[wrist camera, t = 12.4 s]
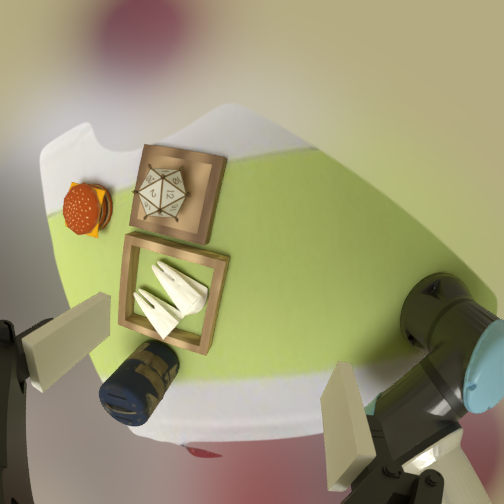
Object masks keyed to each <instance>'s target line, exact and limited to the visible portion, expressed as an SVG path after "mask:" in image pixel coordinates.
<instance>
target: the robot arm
mask: <svg viewBox="0 0 504 504" xmlns="http://www.w3.org/2000/svg"><path fill="white" fill-rule="evenodd" d="M110 302H111V296H110V295H107V294H105V293H102V292H99V293H98V294H96V295H94V296H92V297H91V298H89V299H87V300H85V301H84V302H82V303H80V304H78V305H77V306H75V307H73V308H72V309H70V310H68V311H67V312H65V313H63V314H61V315H60V316H58V317H57V318H55V319H54V318H49V319H45V320H43V321H41V322H39V323H38V324H37V325H34V326H32V328H29V329H27V330H26V331H24V332H22V333H21V334H19V335H17V336H15V331H14V325H13V324H12V323H11V322H10V321H7V320H0V504H34V501H33V496H32V491H31V485H30V478H29V469H28V458H27V445H26V386H27V385H26V379H27V378H28V377H30V379H31V383H32V386H34V387H35V388H37V389H38V390H39V391H41V392H42V393H43V392H44V391H45V390H46V389H48V388H49V387H50V386H51V385H52V384H53V383H55V382H56V381H57V380H58V379H59V378H60V377H62V376H63V375H64V374H65V373H66V372H67V371H68V370H70V369H71V368H72V367H73V366H74V365H75V364H77V363H78V362H79V361H80V360H81V359H82V358H84V357H85V356H86V355H87V354H88V353H90V352H91V351H92V350H93V349H94V348H95V347H97V346H98V345H99V344H100V343H101V342H103V341H104V340H105V339H106V338H107V337H109V336H110ZM400 324H401V330H402V333H403V335H404V337H405V339H406V340H407V341H408V343H409V344H410V345H411V346H412V347H413V348H414V349H416V350H418V351H420V352H422V353H424V354H427V356H426V357H425V358H424V359H423V360H422V361H420V362H419V363H418V364H417V365H416V366H415V367H414V368H412V369H411V370H410V371H409V372H408V373H407V374H405V375H404V376H403V377H402V378H400V379H399V380H398V381H397V382H396V383H394V384H393V385H392V386H390V387H389V388H388V389H387V390H385V391H384V392H382V393H380V394H378V395H377V397H376V398H375V399H374V400H373V401H372V402H371V403H369V404H368V405H367V406H365V407H363V403H362V400H361V396H360V393H359V389H358V386H357V383H356V379H355V376H354V373H353V370H352V366H351V363H345V362H340V361H338V362H337V364H336V366H335V368H334V371H333V373H332V375H331V377H330V379H329V381H328V384H327V386H326V388H325V390H324V392H323V394H322V396H321V398H320V400H321V409H322V419H323V430H324V440H325V454H326V466H327V482H328V491H345V490H346V489H347V488H348V487H349V486H350V485H351V489H352V492H351V493H350V494H349V495H348V496H347V497H346V498H345V499H344V500H343V501H342V502H341V504H492V503H491V501H490V499H489V497H488V495H487V493H486V492H485V490H484V488H483V486H482V484H481V482H480V480H479V479H478V477H477V475H476V473H475V471H474V469H473V468H472V466H471V464H470V462H469V461H468V459H467V457H466V455H465V454H464V452H463V451H462V449H461V447H460V441H461V438H462V434H463V429H462V427H461V426H460V424H459V422H458V420H459V419H460V418H462V417H463V416H464V415H465V414H466V413H467V412H468V411H469V412H473V413H476V414H478V413H483V412H485V411H486V410H487V409H491V408H492V407H494V406H495V405H496V404H497V403H498V402H499V401H500V400H501V399H502V398H503V397H504V320H502V319H500V318H498V317H497V316H495V315H494V314H492V313H491V312H490V311H488V310H487V309H485V308H484V307H482V306H481V305H479V304H478V303H476V302H475V301H474V299H473V297H472V295H471V294H470V292H469V290H468V288H467V286H466V285H465V284H464V283H463V282H462V281H461V280H460V279H458V278H456V277H455V276H453V275H451V274H447V273H437V274H434V275H431V276H429V277H427V278H425V279H423V280H422V281H421V282H419V283H418V284H417V285H416V286H415V287H414V288H413V290H412V291H411V292H410V294H409V295H408V297H407V299H406V301H405V303H404V305H403V308H402V312H401V318H400Z"/></svg>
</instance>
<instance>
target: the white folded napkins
mask: <svg viewBox="0 0 504 504" xmlns="http://www.w3.org/2000/svg"><path fill="white" fill-rule="evenodd" d="M157 264H158V265H159V266H160V267H161V268H162V269H163V270H164V272H163V271H161V270H160V269H159V268H158V267H156V266H155V265H154V264H153V265H152V269H153V271H154V273H155V275H156V277H157V278H158V280H159V281H160V283H161V285H162V286H163V288H164V289H165V291H166V292H167V294H168V295H169V297H170V298H171V299H172V301H173V302H174V304H175V305H176V306H177V308H178V309H179V310H178V309H176V308H174V307H172V306H171V305H169V304H167V303H166V302H164V301H162V300H161V299H159V298H157V297H155V296H153V295H152V294H150V293H148V292H147V291H145V290H143V289H138V290H139V292H140V293H141V294H142V295H143V296H144V297H145V298H146V299H147V300H148V301H149V302H150V303H151V304H152V305H154V308H152V307H151V306H149V304H147V303H146V301H144V300H143V299H142V298H141V297H140V296H139V295H138V294H137V293H136V292H134V294H133V295H134V297H135V299H136V301H137V302H138V304H139V306H140V307H141V309H142V310H143V312H144V314H145V315H146V317H147V318H148V320H149V321H150V322H151V324H152V325H153V327H154V328H155V329H156V331H157V332H158V334H159V335H160V336H161V337H162V339H164V338H165V337H166V336H167V335H168V334H169V333H170V332H171V331H172V330H173V329H174V327H176V325H177V324H178V323H179V321H180V320H182V319H183V317H185V315H188V314H192V313H198V312H199V311H200V310H201V309H202V308H203V307H204V305H205V303H206V300H207V295H208V289H207V287H205V286H203V285H201V284H200V283H198V282H196V281H195V280H193V279H191V278H189V277H188V276H186V275H184V274H183V273H181V272H179V271H177V270H176V269H174V268H172V267H170V266H169V265H167V264H165V263H163V262H161V261H157Z"/></svg>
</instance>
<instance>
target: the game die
mask: <svg viewBox="0 0 504 504" xmlns="http://www.w3.org/2000/svg"><path fill="white" fill-rule="evenodd" d="M148 168H150V170H149V171H148V173H147V175H146V177H145V178H144V180H143V182H142V184H141V186H140V187H139V189H138V191H137V190H134V191H132V192H133V193H134V194H137V193H138V196H139V198H140V201H141V204H142V206H143V209H144V211H145V214H146V216H144V217H143V218H144V219H143V221H144V220H146V219H147V217H148V216H152V217H168V218H175V221H176V222H178V221H179V219H178V218H177V215H178V213H179V211H180V209H181V207H182V205H183V203H184V201H185V199H186V197H191V196H192V195H191V194H190V193H189V192H186V188H185V185H184V181H183V177H182V173H181V170H183V169H184V165H183V166H181V167H180V169H179V170H177V169H163V168H152V167H151V164H149V163H148Z"/></svg>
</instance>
